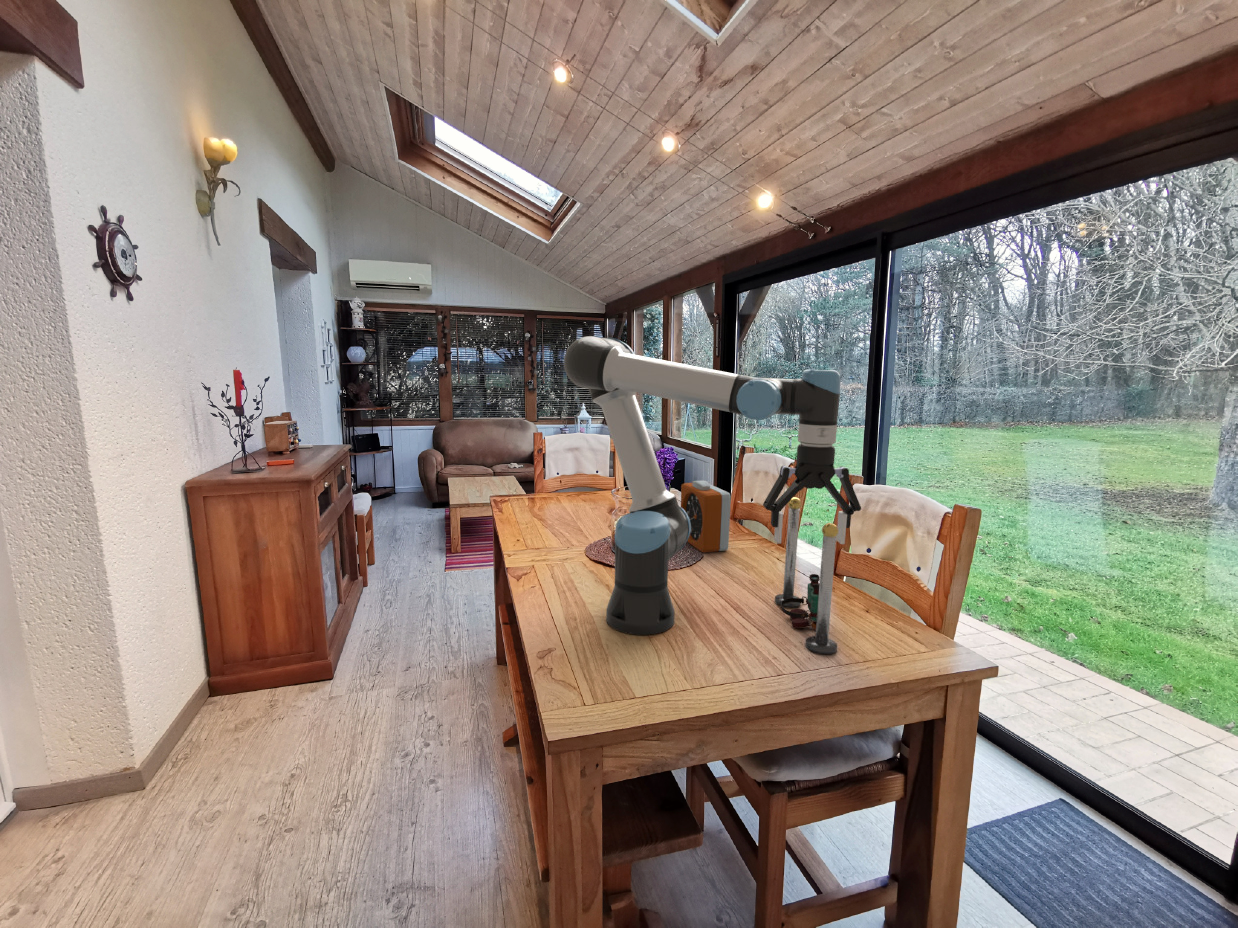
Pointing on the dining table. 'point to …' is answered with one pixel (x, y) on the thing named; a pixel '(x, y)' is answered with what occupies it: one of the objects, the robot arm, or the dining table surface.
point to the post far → (790, 555)
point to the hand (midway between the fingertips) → (809, 542)
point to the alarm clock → (707, 515)
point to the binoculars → (811, 600)
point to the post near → (825, 595)
